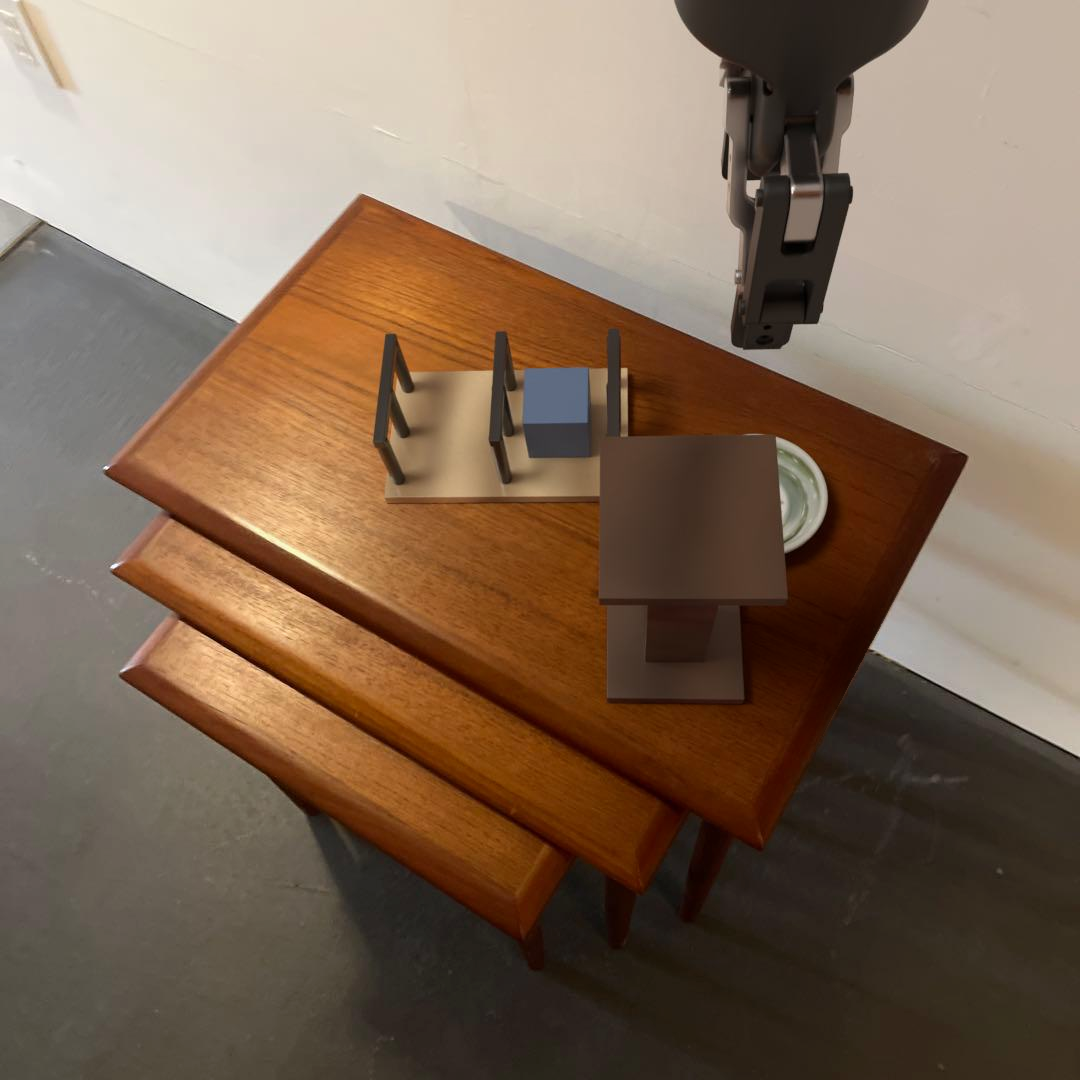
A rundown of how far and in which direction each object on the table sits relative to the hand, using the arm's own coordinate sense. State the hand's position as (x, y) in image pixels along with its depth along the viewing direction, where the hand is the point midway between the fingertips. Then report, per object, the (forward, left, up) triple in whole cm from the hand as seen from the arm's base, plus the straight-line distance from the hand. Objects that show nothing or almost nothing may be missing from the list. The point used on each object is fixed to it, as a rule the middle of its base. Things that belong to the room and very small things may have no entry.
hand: (752, 253), depth 40 cm
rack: (+14, -10, -32) cm, 36 cm away
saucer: (-4, -4, -32) cm, 33 cm away
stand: (+2, +6, -32) cm, 33 cm away
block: (+10, -10, -31) cm, 34 cm away
